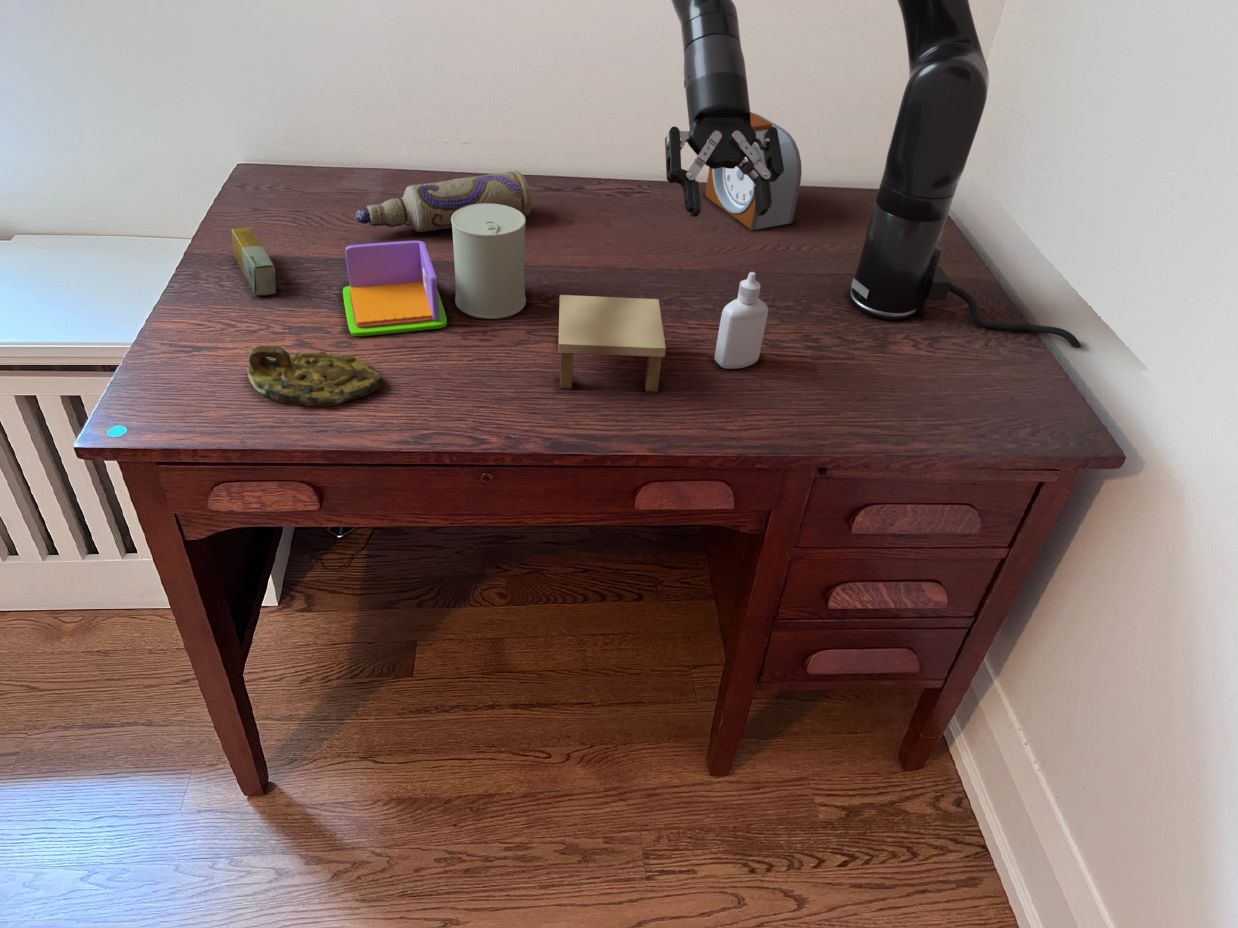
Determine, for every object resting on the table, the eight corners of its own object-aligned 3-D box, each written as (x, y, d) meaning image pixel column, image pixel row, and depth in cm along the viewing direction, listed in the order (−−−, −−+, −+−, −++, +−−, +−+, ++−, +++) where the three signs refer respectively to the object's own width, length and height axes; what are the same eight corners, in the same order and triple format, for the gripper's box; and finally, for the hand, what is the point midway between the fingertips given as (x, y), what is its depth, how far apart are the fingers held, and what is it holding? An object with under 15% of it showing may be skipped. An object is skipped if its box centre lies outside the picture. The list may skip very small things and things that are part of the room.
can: (460, 322, 112) (455, 233, 104) (450, 286, 118) (445, 201, 111) (532, 316, 114) (532, 229, 106) (518, 282, 121) (518, 197, 113)
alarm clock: (699, 193, 148) (710, 111, 140) (741, 187, 152) (754, 106, 143) (749, 230, 138) (764, 144, 130) (792, 222, 142) (810, 138, 133)
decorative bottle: (515, 204, 140) (515, 162, 135) (533, 224, 135) (533, 182, 130) (350, 225, 130) (344, 181, 126) (363, 248, 125) (357, 203, 121)
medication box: (278, 295, 114) (275, 266, 111) (255, 297, 112) (253, 268, 110) (253, 253, 121) (250, 225, 119) (232, 255, 120) (229, 227, 117)
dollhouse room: (434, 282, 119) (431, 235, 114) (449, 328, 110) (446, 279, 106) (341, 290, 116) (334, 241, 111) (349, 338, 107) (342, 288, 103)
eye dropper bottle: (760, 373, 108) (778, 284, 100) (714, 368, 108) (728, 280, 100) (757, 353, 111) (775, 266, 103) (712, 349, 111) (727, 262, 103)
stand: (653, 342, 111) (658, 299, 107) (660, 393, 103) (666, 348, 99) (558, 338, 110) (559, 294, 106) (556, 389, 102) (558, 343, 98)
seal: (391, 370, 104) (260, 364, 103) (388, 334, 102) (254, 327, 100) (376, 410, 96) (235, 404, 95) (373, 372, 94) (228, 365, 93)
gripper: (667, 68, 103) (681, 203, 102) (782, 70, 106) (796, 201, 105) (652, 100, 110) (665, 226, 109) (759, 101, 113) (773, 223, 112)
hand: (729, 214), depth 107 cm, fingers open, 8 cm apart
